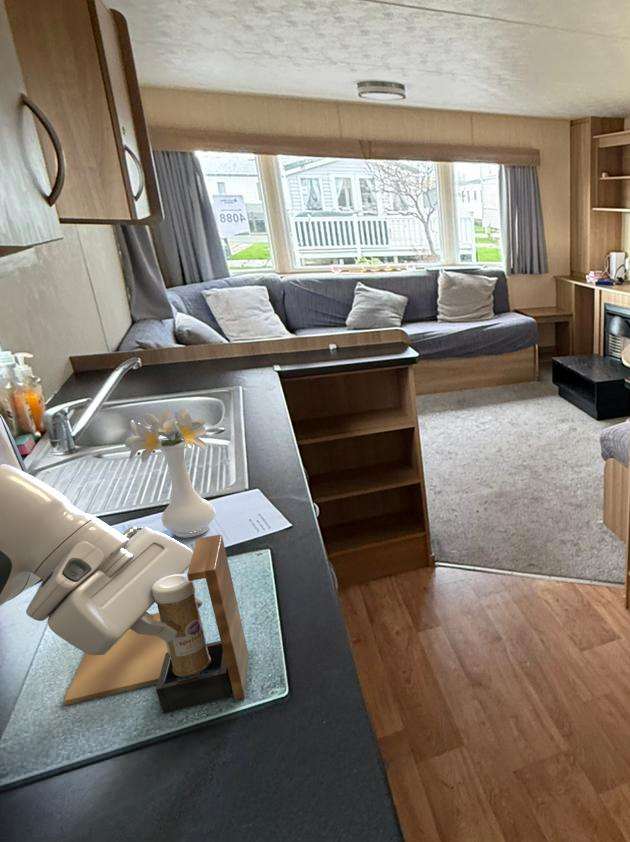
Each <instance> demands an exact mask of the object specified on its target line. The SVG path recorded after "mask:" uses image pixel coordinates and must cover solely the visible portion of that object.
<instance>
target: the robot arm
mask: <svg viewBox="0 0 630 842" xmlns="http://www.w3.org/2000/svg"><path fill="white" fill-rule="evenodd" d="M193 551H194V550H192V548H189V547H188V546H186V545H185V544H183V543H181V542H179V541H178V540H176V539H174V538H172V537H171V536H168V535H167V534H165V533H163V532H160V531H157V530H153V529H151V528H149V527H147V526H137V527H136V526H131V527H129V528H127V529H126V530H125V531H124V532H123V533H121V532H119V531H118V530H116V529H115V528H113V527H112V526H111V525H109V524H108V523H106V522H105V521H103V520H101V519H100V518H98V517H97V516H95V515H94V514H90V513H87V512H85V511H82V510H80V509H79V508H77V507H76V506H75V505H73V503H71V501H70V500H69V499H68V497H66V495H64V494H62V493H61V492H60V491H58V490H56V489H55V488H53V487H52V486H50V485H48V484H47V483H46V482H43V481H42V480H40V479H38V478H37V477H34V476H33V475H31V474H29V471H28V469H27V467H26V464H25V462H24V459H23V457H22V454H21V453H20V450H19V448H18V446H17V444H16V441H15V438H14V436H13V434H12V432H11V430H10V428H9V426H8V424H7V423H6V421H5V419H4V417H3V416H2V414H1V413H0V607H1V606H3V605H4V604H6V603H7V602H9V601H11V600H13V599H14V598H16V597H18V596H20V595H21V594H23V593H24V592H25V591H27V590H29V589H30V588H31V587H34V586H36V585H38V584H39V586H38V589H37V590H36V592H35V594H34V596H33V597H32V599H31V601H30V602H29V605H28V606H27V608H26V610H25V613H26V615H27V616H28V617H29V618H31V619H33V620H35V621H38V622H43V621H45V620H47V626H48V628H49V629H50V630H51V631H52V632H53V633H54V634H55V635H57V636H58V637H59V638H61V639H62V640H63V641H65V642H67V643H68V644H70V645H71V646H73V647H75V648H76V649H78V650H80V651H81V652H83V653H84V654H85V653H87V654H90V655H104V654H105V653H106V652H107V651H108V650H109V649H110V648H111V647H112V646H113V645H114V644H115V643H116V642H117V641H118V640H119V639H120V638H121V637H122V636H123V635H124V634H125V633H126V632H127V631H128V630H129V629H131V630H133V631H135V632H136V633H138V634H144V635H152V636H158V637H160V638H161V639H163V640H165V641H166V642H170V641H171V640H172V639H173V638H174V637H175V636H176V635H177V634H178V633H179V631H180V630H181V627H180V626H179V625H176V624H175V623H174V622H173V621H171V620H170V621H169V622H168V623H163V622H159V621H155V620H152V618H153V616H152V615H151V614H152V613H149V612H148V611H149V609H150V608H151V607H152V606H153V605H154V604H156V601H155V599H154V597H153V593H152V586H153V585H154V583H156V582H157V581H158V580H160V579H162V578H164V577H167V576H170V575H175V574H185V572H186V571H188V570H189V566H190V562H191V559H192V555H193ZM196 601H197V605H198V609H199V610H200V608H201V606H202V605H203V602H202V601H201V600H200V599H199V598H197V597H196Z"/></svg>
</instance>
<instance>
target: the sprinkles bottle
mask: <svg viewBox="0 0 630 842" xmlns="http://www.w3.org/2000/svg"><path fill="white" fill-rule="evenodd" d="M187 574H188V573H183V574H175V575H170V576H167V577H164V578H162V579H160V580H158V581H157V582H156V583H154V585H153V586H152V593H153V597H154V599H155V601H156V602H155V604H156V606H157V610H158V613H159V615H160V621H161V622H163V623H168V622H169V621H170V620H171V621H173V622H174V623H175V624H176V625H179V626H180V627H181V630H180V631H179V633H178V634H177V635H176V636H175V637H174V638H173V639H172V640H171V641H170V642H166V645H167V649H168V653H169V655H170V658H171V662H172V666H173V669H172V670H173V673H174V674H175V675H176V676H179V678H185V677H191V676H192V677H193V676H195V675H198V674H200V673H202V672H201V671H203V670H204V669H206V668H207V667H208V666H209V664H210V662H211V658H210V656H209V654H208V649H207V646H206V644H207V638H206V634H205V633H206V632H205V629H204V624H203V621H202V618H201V614H200V613H201V612H200V608H199V609H198V605H197V601H196V598H197V597H196V585H195V580H193V581H189V580H188V576H187ZM199 672H200V673H199Z"/></svg>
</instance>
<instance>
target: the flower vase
mask: <svg viewBox="0 0 630 842" xmlns="http://www.w3.org/2000/svg"><path fill="white" fill-rule="evenodd" d="M170 416H171V409H165V410H164V411H162V412H161V414H159V417H158V418H157V417H156V416H155V415H153V414H151V413H148V412H147V413H144V414H142V417H141V419H142V421H143V423H144V424H145V425H144V424H143V423H141V422H138V423H137V424H136V422H135V421H134V420H133V419H131V420H130V423H129V425H130V430H131V432H132V434H133V435H132V436H129V437H127V438H126V439H125V442H124V445H125V447H126V448H128V450H129V451H130V453H129V461H131V460H132V459H133V458H134V456H136V454H137V452H139V451H141V450H142V452H141V454H140V460H141V462H142V463H146V462H147V460H148V459H149V458H150V456H151V455H152V453H153V452H154V451H158V450H160V451H161V453H162V456H163V457H164V459H165V462H166V464H167V468H168V472H169V477H170V483H171V489H172V491H171V492H172V493H171V499H170V503H169V504H168V505H167V506H166V508H165V509H164V511H163V512H162V515H161V524H162V526H163V527H164V529H166V530H168V531H170V532H173V533H174V536H175V537H178V538H182V539H184V538H186V539H187V538H193V537H197V536H201V535H203V534H204V533H207V532H208V531H209V530H210V528H211V524H212V523H213V521H214V520H215V518H216V515H217V511H216V507H215V506H214V505H213V504H212V503H211V502H210V501H208V500H207V499H205V498H203V497H201V496H200V495H199V494H198V493H197V491H196V490H195V488H194V486H193V484H192V482H191V478H190V475H189V471H188V467H187V464H186V458H185V456H186V455H185V447H187V448H188V449H192V448H193V447H194V446H196V447H198V448H200V449H202V450H204V451H206V450H207V449H208V446H207V444H206V443H205V441H204V440H202V439H208V436H207V435H206V433H207V428H206V427H205V426H204V425H206V421H205V420H204V419H201V418H194V419H192V417H191V416H190V414H189V410H187V408H185V407H182V408H180V409H179V410H178V412H177V411H176V412H174V415H173V416H174V419H173V418H170ZM160 436H161V437H165V438H166V439H160ZM200 529H201V530H200ZM198 530H199V531H198ZM194 531H196V532H194ZM190 532H192V533H190Z"/></svg>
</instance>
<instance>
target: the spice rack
mask: <svg viewBox="0 0 630 842" xmlns="http://www.w3.org/2000/svg"><path fill="white" fill-rule="evenodd" d="M192 551H193V555H192V559H191V562H190V566H189V568H188V569H187V573H186V574H187V576H188V580H189V581H197V580H203V579H205V582H206V585H207V591H208V594H209V598H210V601H211V606H212V610H213V614H214V618H215V623H216V627H217V631H218V635H219V639H220V640H216V641H212V642H207V643H206V646H207V649H208V654H209V656H210V658H211V662H210V664H209V666H208V667H207V668H206V669H204V670H203V671H201V672H199V673H198V674H200V673H204V672H208V671H212V670H217V669H219V670H217V671H214V672H210V673H205V674H200V675H197V676H192V677H188V678H184V679H179V678H180V677H179V676H176V675H175V674H174V673H173V670H172V669H173V666H172V662H171V658H170V655H169V653H166V654H165V657H164V661H163V665H162V669H161V672H160V676H159V680H158V684H156V688H155V692H156V695H157V699H158V702H159V705H160V709H161V713H162V714H163V715H165V714H168V713H173V712H177V711H180V710H181V711H182V710H184V709H188V708H192V707H196V706H200V705H204V704H208V703H212V702H217V701H220V700H224V699H228V698H231V697H233V698H234V701H238V700H241V699H245V698H246V690H247V689H246V687H247V679H248V678H247V677H248V664H249V649H248V646H247V641H246V636H245V632H244V628H243V623H242V618H241V615H240V609H239V605H238V601H237V597H236V592H235V587H234V583H233V578H232V574H231V569H230V565H229V561H228V556H227V552H226V546H225V542H224V538H223V535H222V534H221V533H220V534H215V535H210V536H203V537H198V538H196V541H195V544H194V548H193V550H192ZM178 679H179V680H178Z"/></svg>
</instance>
